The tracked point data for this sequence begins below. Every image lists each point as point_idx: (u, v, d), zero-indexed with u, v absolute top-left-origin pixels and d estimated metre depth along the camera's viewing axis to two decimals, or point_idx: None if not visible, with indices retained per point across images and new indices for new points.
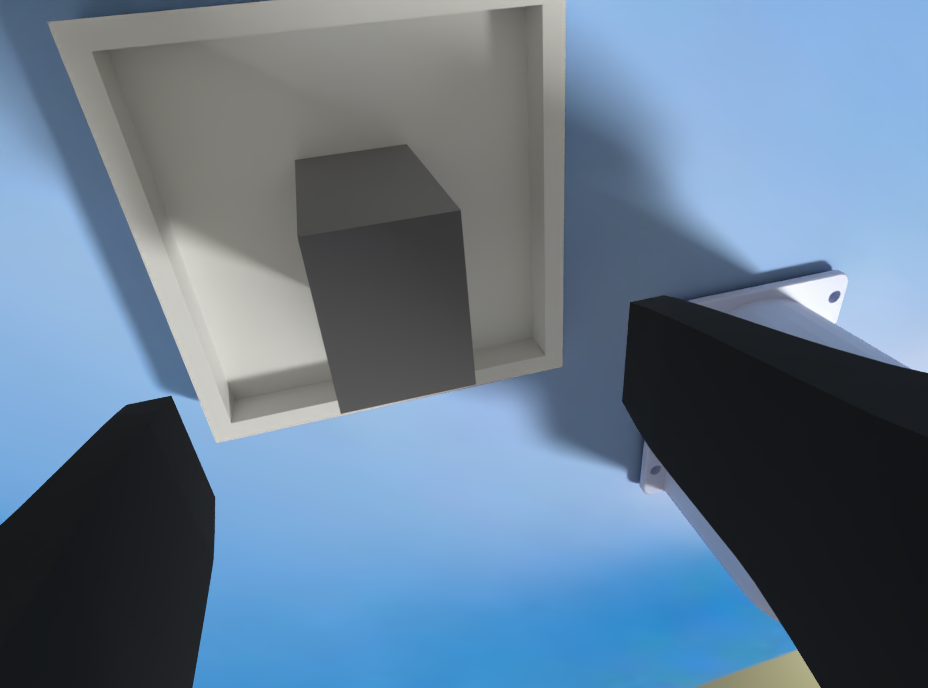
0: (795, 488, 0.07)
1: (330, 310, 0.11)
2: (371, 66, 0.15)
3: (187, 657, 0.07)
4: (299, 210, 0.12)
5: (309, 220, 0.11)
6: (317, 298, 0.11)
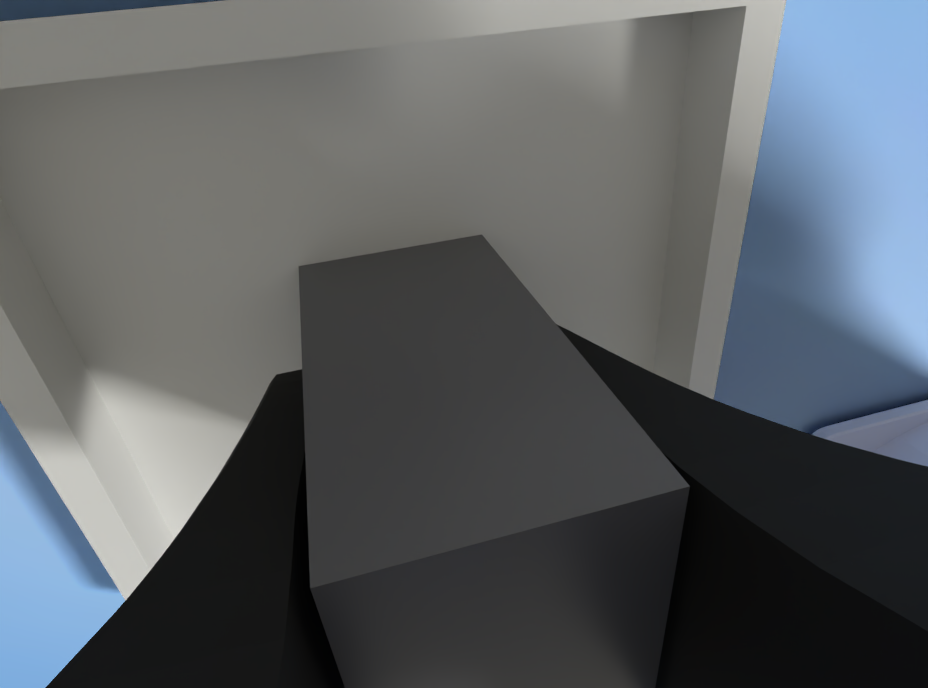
0: None
1: None
2: (431, 112, 0.08)
3: None
4: (311, 448, 0.05)
5: (334, 500, 0.05)
6: (354, 678, 0.05)
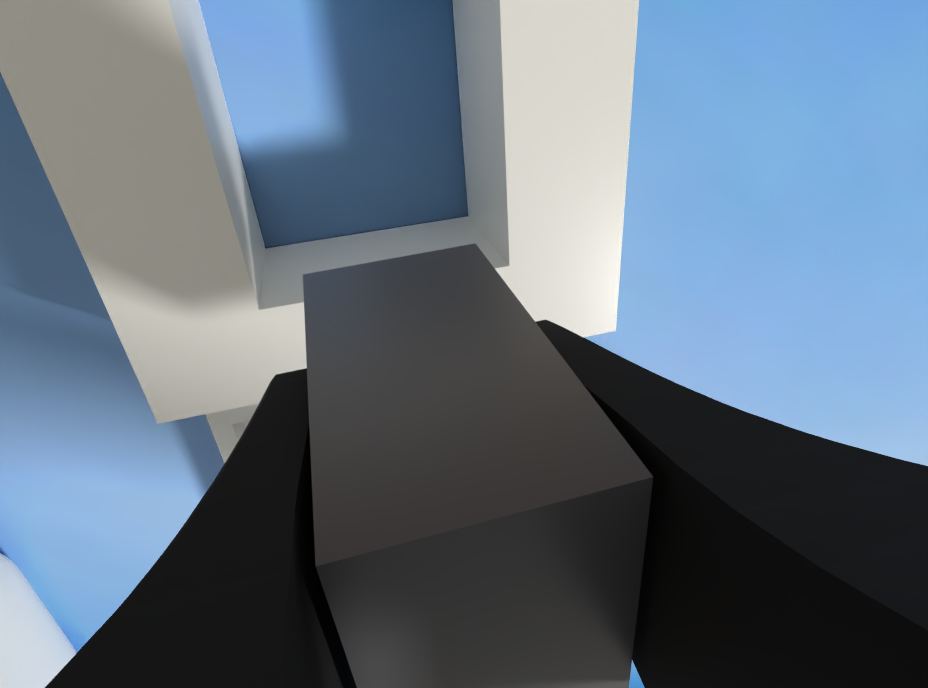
0: None
1: (380, 662, 0.06)
2: None
3: None
4: (316, 444, 0.06)
5: (335, 490, 0.05)
6: (354, 648, 0.05)
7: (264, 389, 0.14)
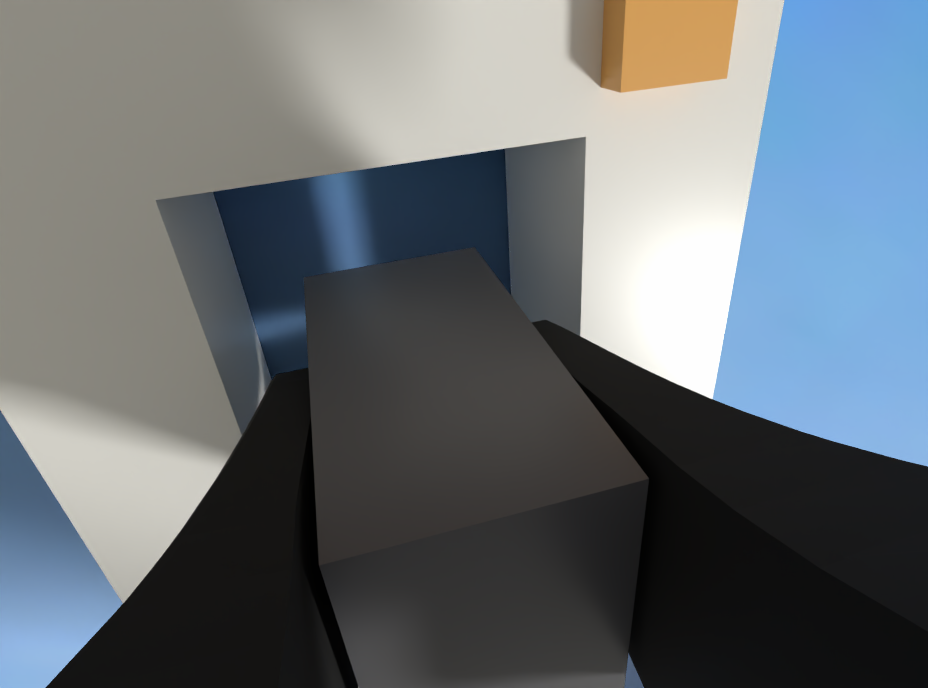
0: None
1: (381, 659, 0.06)
2: None
3: None
4: (318, 446, 0.06)
5: (339, 492, 0.05)
6: (356, 646, 0.05)
7: None
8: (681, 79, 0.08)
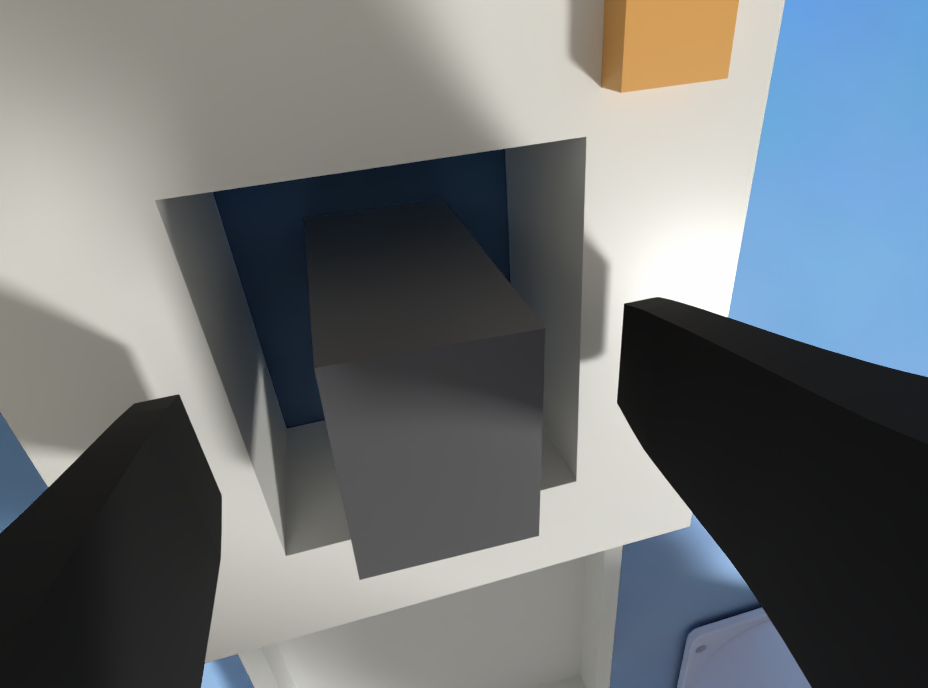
0: (787, 490, 0.07)
1: (355, 458, 0.08)
2: None
3: (196, 654, 0.07)
4: (314, 311, 0.08)
5: (328, 335, 0.08)
6: (337, 444, 0.08)
7: (290, 627, 0.12)
8: (682, 79, 0.08)
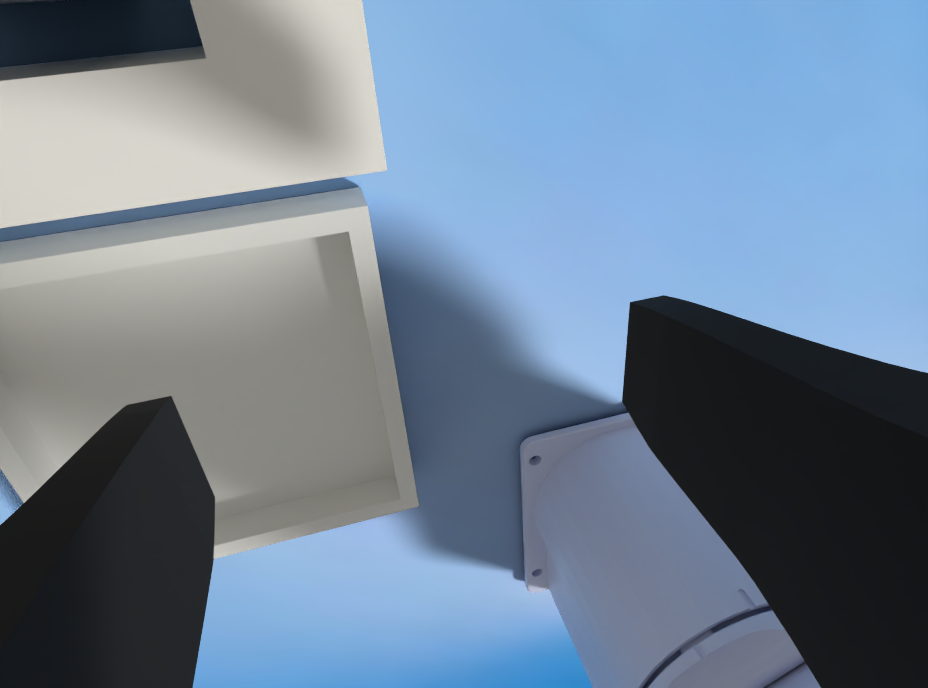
0: (795, 488, 0.07)
1: None
2: (202, 276, 0.16)
3: (187, 657, 0.07)
4: None
5: None
6: None
7: None
8: None
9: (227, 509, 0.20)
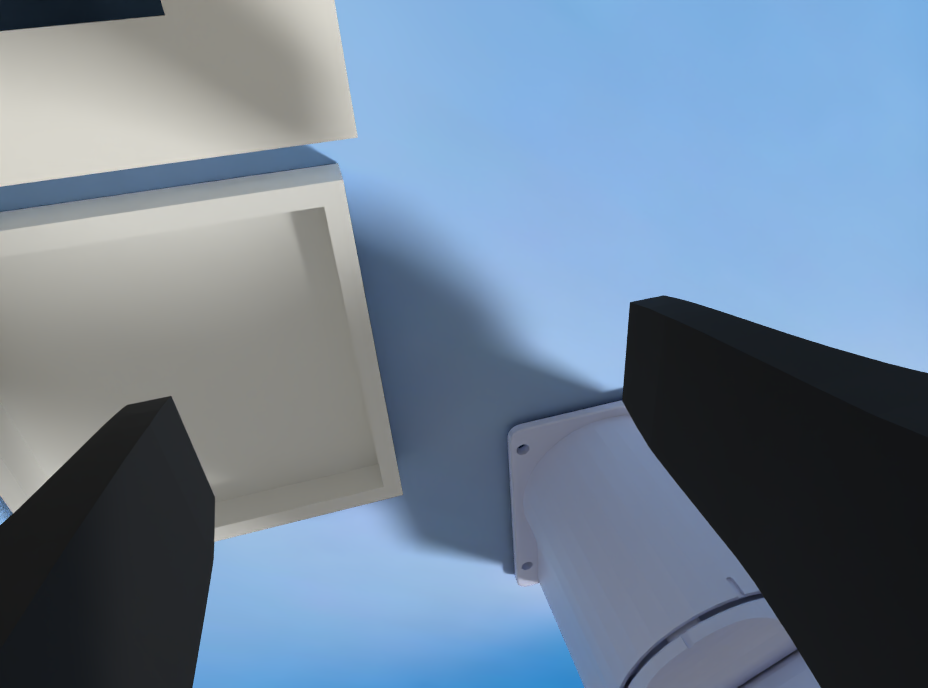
0: (795, 488, 0.07)
1: None
2: (175, 253, 0.16)
3: (187, 657, 0.07)
4: None
5: None
6: None
7: None
8: None
9: None
